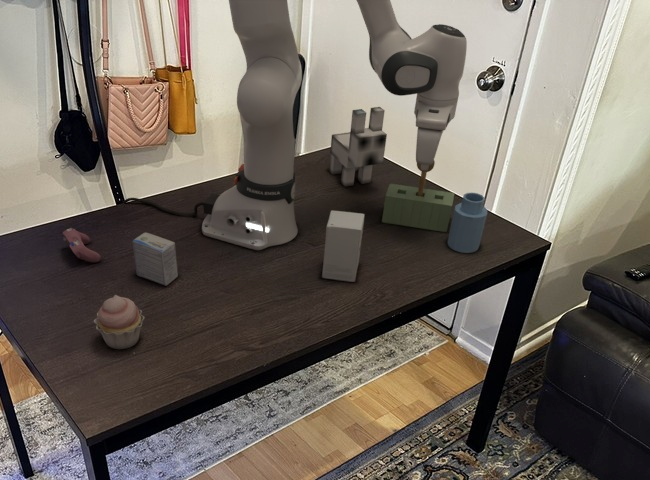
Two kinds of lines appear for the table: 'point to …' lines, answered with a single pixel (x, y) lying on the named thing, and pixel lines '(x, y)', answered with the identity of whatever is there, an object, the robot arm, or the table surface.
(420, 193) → the spoon
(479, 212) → the bottle
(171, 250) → the medicine box
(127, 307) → the cupcake
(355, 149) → the blocky rabbit figurine
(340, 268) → the white packaging box
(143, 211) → the table surface
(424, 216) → the stand
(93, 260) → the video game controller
